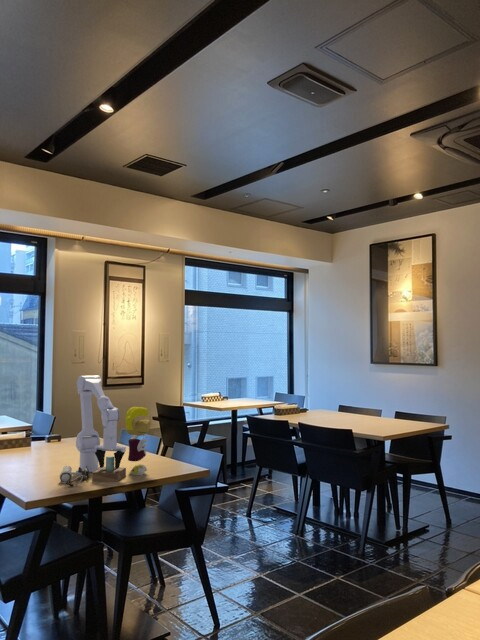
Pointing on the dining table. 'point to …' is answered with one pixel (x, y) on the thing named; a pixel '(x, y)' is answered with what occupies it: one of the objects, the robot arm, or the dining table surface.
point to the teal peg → (110, 463)
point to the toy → (136, 429)
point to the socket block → (108, 474)
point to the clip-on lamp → (67, 474)
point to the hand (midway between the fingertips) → (109, 467)
